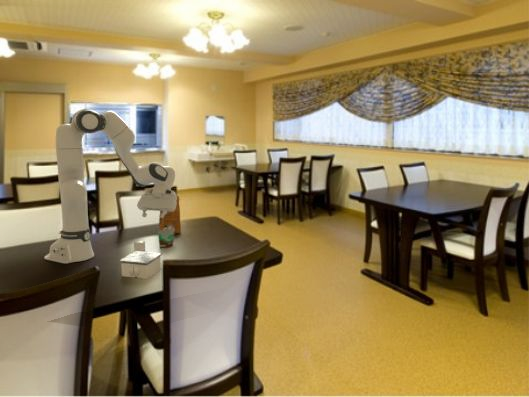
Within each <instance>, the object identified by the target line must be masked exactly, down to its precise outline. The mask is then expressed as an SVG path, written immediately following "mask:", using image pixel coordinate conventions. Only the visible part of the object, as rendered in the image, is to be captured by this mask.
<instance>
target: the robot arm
mask: <svg viewBox="0 0 529 397" xmlns="http://www.w3.org/2000/svg"><path fill="white" fill-rule="evenodd" d="M100 131H101V132H103V133H104V134H105V135H106V137H107V138H108V139H109V140H110V141H111V143H112V144H113V147H114V151H115V154H116V156H117V157H118V159H119V160H120V161H121V163H122V164H123V166H124V167H125V168H126V170H127V171H128V173H129V175H130V177H131V179H132V182H133V183H134V184H135V185H136V186H138V187H140V188H142V187H143V188H144V187H147V186H148V185H151V184H153V185H154V186H153V188H152V191H151V193H144V194H142V195H141V196H140V199H139V200H138V202H137V205H136V206H137V208H138V210H140V211H142V214H141V215H142V217H143V218H147V215H148V214H147V211H155V212H160V211H163V212H162V214H160V213H159V218H163V217H164V215H165V214H166V213H167V212H168V211H172V212H173V211H174V210H175V209H176V205H177V201H176V200H177V196H178V195H177V194H176V193H175V192H174V190H171V189H172V187H173V186H174V183H175V179H176V171H175V170H174V169H173V168H172V167H171V166H169V165H165V166H164V165H161V163H158V162H154V161H153V162H150V163H148V164H145V165H143V166H140V165H139V164H138V162H137V161H136V159H135V157H134V156H133V155H132V153H131V149H132V147H133V145H134V143H135V141H136V140H135V139H136V135H135V133H134V131H133V130H132V128H131V127H130V126H129V125H128V124H127V122H126V121H125V120H124V119H123V118H121V116H120V115H118V114H117V113H116V112H115V111H113V110H107V111H105V112H102V113H99V112H97V111H96V110H92V109H88V108H87V109H86V108H83V109H80V110H77V111H76V112H75V113H74V114H73V116H72V118H71V120H70V121H69V123H62V124H60V125H58V127H57V128H56V132H55V151H56V152H55V153H56V154H55V155H56V164H57V175H58V177H57V178H58V187H59V194H60V205H61V219H62V230H59V232H58V235H60V236H59V238H58V239H57V240H56V241H55V242H53V243H52V244H51V245H50V247H49V253H47V254H46V255H45V256H43V257H44V260H47V261H52V262H56V263H61V264H71V263H75V262H82V261H83V262H84V261H86V260H90V259H92V258H94V256H95V253H94V251H93V246H92V242H91V229H90V226H89V215H88V190H87V186H86V184H85V174H84V173H85V170H84V169H85V168H84V166H85V164H84V151H83V136H84V135H85V134H94V133H97V132H100Z"/></svg>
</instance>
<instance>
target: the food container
mask: <svg viewBox="0 0 529 397" xmlns="http://www.w3.org/2000/svg"><path fill="white" fill-rule="evenodd" d="M174 231H175V229H174V227H173V226H172V225H167V227H166V228H163V229H162V230H160V229H158V230H157V235H158V245H159V246H158V247H159V248H160V249H167V248H171V247H173V246H174V234H173V232H174Z"/></svg>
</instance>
